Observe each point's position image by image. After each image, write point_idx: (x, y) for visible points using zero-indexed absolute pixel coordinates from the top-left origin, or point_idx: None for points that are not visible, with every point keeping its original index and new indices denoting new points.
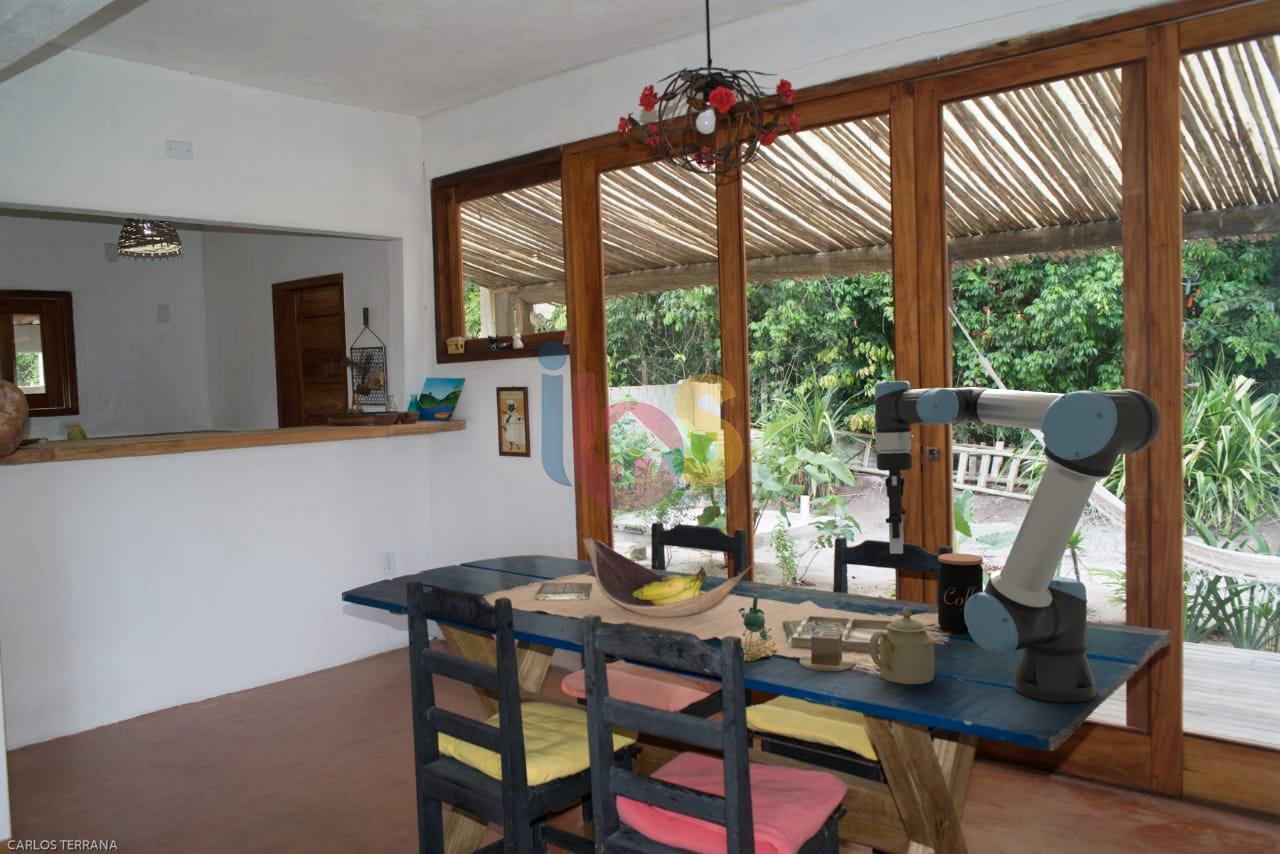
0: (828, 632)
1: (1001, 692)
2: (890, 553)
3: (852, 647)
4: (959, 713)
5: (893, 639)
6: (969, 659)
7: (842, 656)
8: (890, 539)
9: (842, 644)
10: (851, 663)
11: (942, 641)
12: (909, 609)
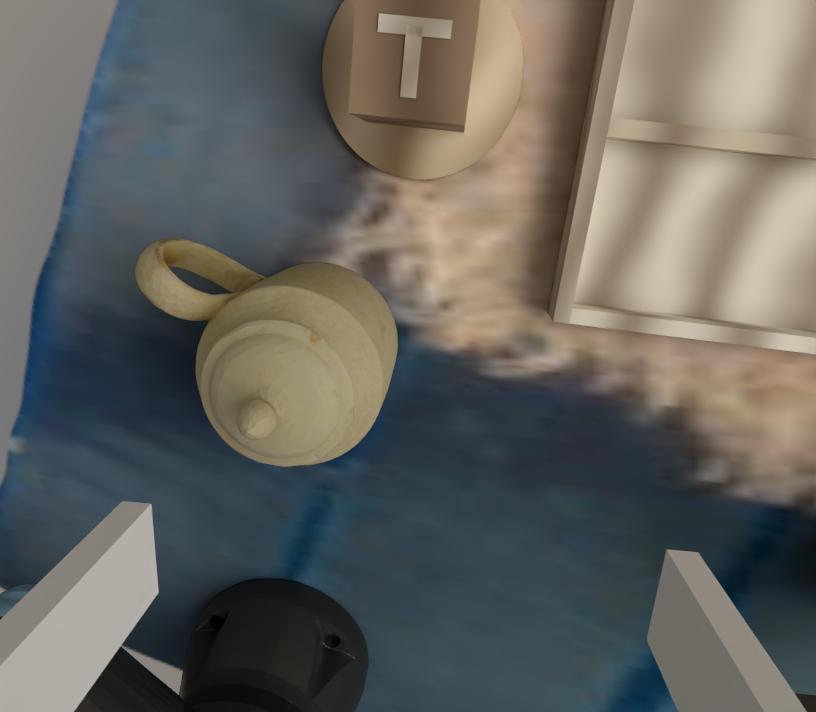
0: (446, 61)
1: (243, 547)
2: (120, 505)
3: (578, 171)
4: (61, 435)
5: (218, 332)
6: (523, 524)
7: (487, 133)
8: (45, 587)
9: (587, 130)
10: (404, 168)
11: (729, 480)
12: (245, 436)
